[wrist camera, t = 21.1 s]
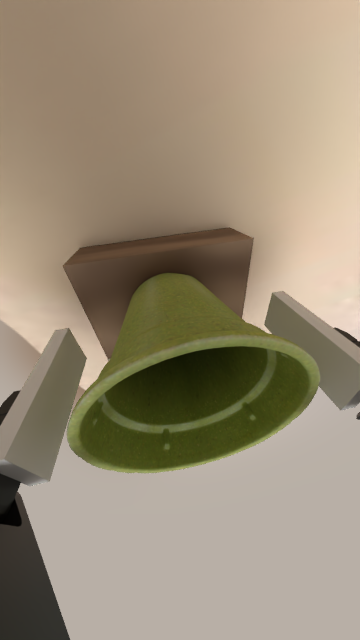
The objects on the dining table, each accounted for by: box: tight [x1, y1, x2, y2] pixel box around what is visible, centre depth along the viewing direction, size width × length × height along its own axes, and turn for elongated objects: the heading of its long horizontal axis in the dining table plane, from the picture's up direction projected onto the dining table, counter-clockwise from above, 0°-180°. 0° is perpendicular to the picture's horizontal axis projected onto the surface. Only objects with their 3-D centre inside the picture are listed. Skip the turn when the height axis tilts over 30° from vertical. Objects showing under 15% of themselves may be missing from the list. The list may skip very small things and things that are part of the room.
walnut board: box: [63, 228, 254, 361], centre depth 18 cm, size 16×12×4 cm
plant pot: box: [67, 273, 320, 473], centre depth 11 cm, size 9×9×9 cm
